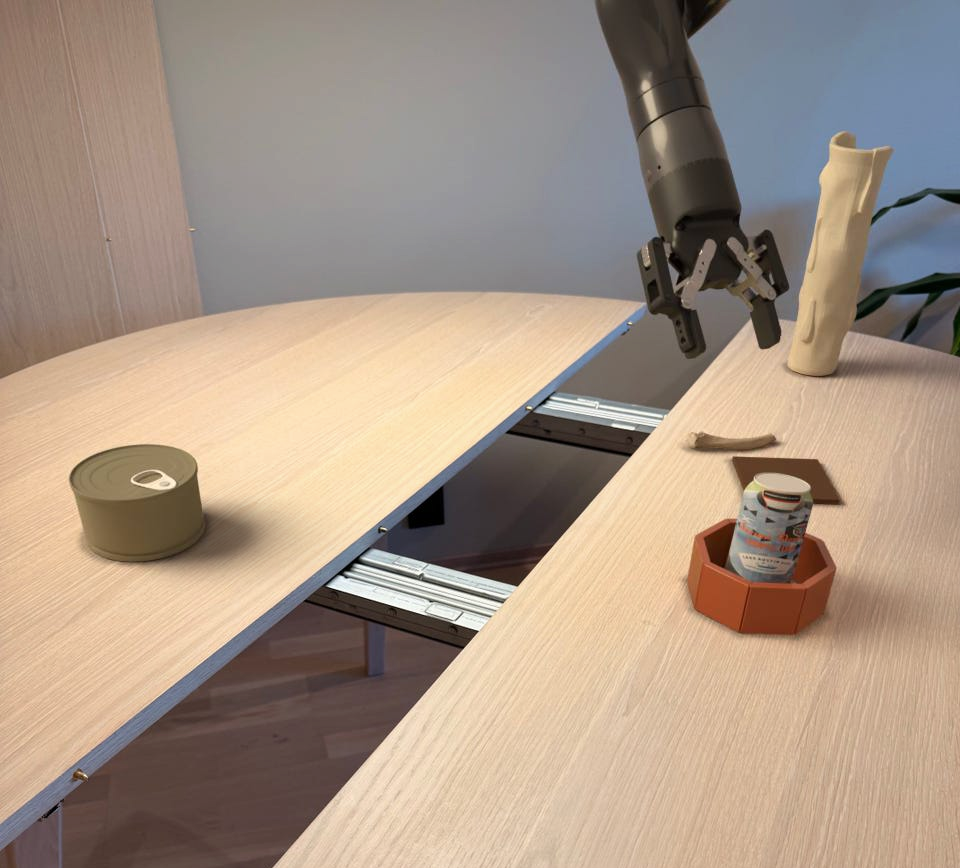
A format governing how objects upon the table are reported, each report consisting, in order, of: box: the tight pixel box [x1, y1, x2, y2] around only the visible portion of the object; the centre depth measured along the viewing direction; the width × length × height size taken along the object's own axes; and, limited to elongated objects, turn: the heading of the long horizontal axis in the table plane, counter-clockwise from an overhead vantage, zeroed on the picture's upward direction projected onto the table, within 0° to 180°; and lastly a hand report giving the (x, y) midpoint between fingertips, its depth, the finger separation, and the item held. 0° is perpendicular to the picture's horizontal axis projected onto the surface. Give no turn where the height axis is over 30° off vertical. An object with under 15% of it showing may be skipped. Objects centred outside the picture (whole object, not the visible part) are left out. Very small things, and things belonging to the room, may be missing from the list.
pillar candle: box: [787, 130, 894, 377], centre depth 132 cm, size 9×8×30 cm
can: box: [68, 443, 206, 563], centre depth 97 cm, size 12×12×7 cm
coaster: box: [731, 455, 841, 505], centre depth 111 cm, size 10×10×1 cm
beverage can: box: [724, 473, 814, 584], centre depth 89 cm, size 6×7×12 cm
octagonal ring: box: [686, 518, 838, 636], centre depth 91 cm, size 12×12×5 cm
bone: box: [685, 431, 777, 450], centre depth 118 cm, size 3×11×2 cm, turn 99°
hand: (734, 350), depth 88 cm, fingers open, 8 cm apart
